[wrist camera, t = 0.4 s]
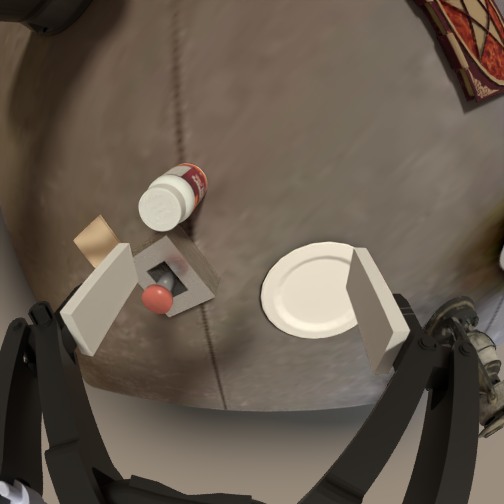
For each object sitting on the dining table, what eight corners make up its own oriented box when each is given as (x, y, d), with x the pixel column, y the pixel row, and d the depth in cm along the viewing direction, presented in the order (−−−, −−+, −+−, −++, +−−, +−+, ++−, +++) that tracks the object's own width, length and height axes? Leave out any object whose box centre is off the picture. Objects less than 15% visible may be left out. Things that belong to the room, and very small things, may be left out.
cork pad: (75, 238, 44) (73, 240, 44) (100, 214, 41) (98, 216, 41) (103, 274, 48) (101, 276, 47) (131, 255, 45) (129, 256, 44)
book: (519, 79, 23) (536, 81, 18) (462, 102, 28) (481, 104, 24) (451, -46, 11) (464, -53, 7) (373, -46, 17) (384, -58, 13)
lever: (150, 272, 42) (136, 296, 36) (170, 260, 40) (156, 284, 35) (168, 292, 43) (155, 317, 38) (188, 282, 42) (177, 307, 37)
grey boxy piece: (134, 249, 44) (121, 265, 40) (177, 220, 41) (166, 235, 37) (175, 299, 49) (168, 317, 45) (220, 278, 46) (215, 296, 42)
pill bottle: (211, 199, 39) (191, 233, 30) (172, 205, 40) (142, 239, 30) (204, 158, 36) (179, 179, 27) (163, 166, 37) (128, 188, 27)
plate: (261, 333, 52) (260, 339, 51) (260, 236, 42) (260, 241, 41) (363, 331, 51) (365, 337, 50) (388, 238, 41) (392, 243, 39)
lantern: (478, 321, 49) (528, 413, 23) (421, 364, 56) (454, 462, 30) (465, 279, 43) (538, 389, 17) (396, 332, 51) (438, 458, 25)
